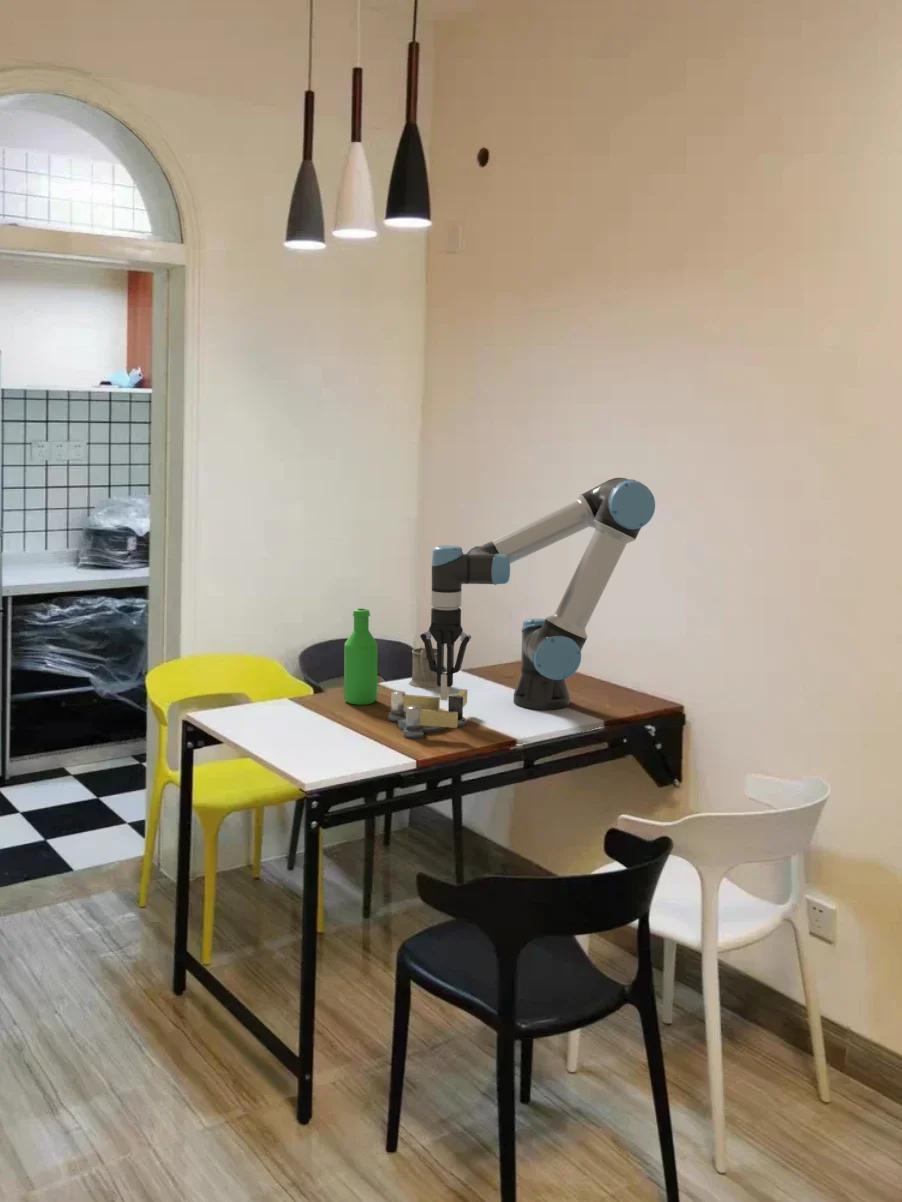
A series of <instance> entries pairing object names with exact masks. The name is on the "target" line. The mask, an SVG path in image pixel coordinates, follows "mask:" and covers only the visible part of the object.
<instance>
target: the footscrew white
mask: <svg viewBox="0 0 902 1202" xmlns="http://www.w3.org/2000/svg"><path fill="white" fill-rule="evenodd" d="M411 705H416V706H420V707H421V709H425V710H438V711H441V709H440V707H441V696H430V695H420V694H419V695H417V694H406V691H403V690H394V691H391V693H390V712H391V715H395V716H401V715H403V714H405V712H406V707H407V706H411Z"/></svg>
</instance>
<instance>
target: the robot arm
mask: <svg viewBox="0 0 902 1202" xmlns="http://www.w3.org/2000/svg"><path fill="white" fill-rule="evenodd" d="M655 509H656V499H655V496H654V494H653V493H652V491H651V490H650V488H649V487H648V486H647V485H645V484H644V483H642V482H641V481H638V480H635V479H630V478H629V479H628V478H627V477H626V478H625V477H614V478H611V479H608V480H605V481H604V482H601V483H600V484H599V485H597V486H595V487H593V488H591V489H589V490H587V491H586V492H584V493H581V494H579V496H578V498H577V500H575V501H573V502H571V503H568V504H567V505H565V506H563V507H561V508H559V509H556V510H554V511H552V512H550V513H548V514H545V515H544V516H541V517H539V518H537V519H536V520H532V521H530V522H529V523H527V524H525V525H523V526H520V527H518V528H516V529H514V530H512V531H509V532H508V533H505V534H504V535H501V536H499V537H497V538H495V539H493V540H491V541H489V542H487V543H485V544H482V545H480V546H479V545H476V546H473V547H470V548H469V549H468V550H467V551H466V553H464V552H463V548H462V546H460V545H450V544H449V545H437V546H435V547H434V548H433V550H432V559H431V600H430V601H431V604H430V605H431V606H432V607H431V609H430V610H431V611H430V615H431V616H430V626H429V627H428V630H427V631H424V632H422V633H421V634H420V639H421V640H422V642H423V643H424V647H425V649H426V654H427V658H428V663H429V667H430V670H431V671H434V672H436V673H437V685H438V686H441V687H440V701H447V700H449V696H450V694H449V693H450V687H452V686H453V684H454V674H455V673H459V672H460V670H462V669H461V668H462V665H463V661H464V656H465V653H466V649H467V645H468V643H469V642H470V640H471V639H472V636H471V635H470V634H467V633H465V632H464V629H463V627H462V609H461V608H460V607H461V606H462V587H463V586H462V585H494V586H496V585H504V584H508V582H509V580H510V576H511V564H513V563H514V562H516V561H519V560H521V559H523V558H526V557H528V556H530V555H532V554H534V553H536V552H538V551H540V550H543V549H544V548H547V547H549V546H552V545H554V544H556V543H557V542H559V541H562V540H564V539H566V538H568V537H571V536H572V535H574V534H577V533H579V532H582V531H583V530H586V529H587V528H589V527H590V528H593V529H594V532H593V534H592V537H591V538H590V540H589V543H588V545H587V547H586V548H585V550H584V553H583V554H582V557H581V559H580V561H579V563H578V565H577V567H576V568H575V571H574V574H573V575H572V577H571V579H570V581H569V584H568V586H567V587H566V590H565V592H564V593H563V596H562V598H561V600H560V602H559V604H558V607H557V608H556V611H555V612H554V614H552V615H550V616H549V615H548V616H546V618H526V619H524V621H522V627H521V659H520V660H521V661H520V665H521V666H520V675H519V679H518V681H517V684H516V686H515V688H514V692H513V703H514V704H515V705H516V706H518V707H519V706H520V707H522V708H526V709H533V710H559V709H564V708H566V707H567V708H568V707H569V705H570V703H571V695H570V691H569V689H568V685H567V681H566V679H567V678H570V677H571V676H572V675H574V674H575V673H576V672H577V670H578V669H579V668H580V666H581V662H582V652H581V651H582V649H583V648H584V646H585V643H586V641H587V639H588V635H587V632H586V627H587V625H588V624H589V621H590V619H591V617H592V616H593V614H594V611H595V609H596V607H597V605H598V602H600V600H601V597H602V595H603V593H604V591H605V590H606V587H607V585H608V583H609V581H610V578H611V577H612V574H613V573H614V570H615V568H616V566H617V565H618V562H619V560H620V558H621V556H622V554H623V552H624V550H625V548H626V546H627V544H630V543H632V542H634V541H636V540H637V538H638V536H639V533H640V531H641V529H642V528H644V526H646V525H647V524H648V523H649V522H650V521H651V520H652V518H653V516H654V514H655ZM459 637H460V640H459V641H460V642H461V643H460V645H459V647H458V648H459V649H458V653H457V656H456V660H455V662H454V658H455V657H454V656H455V655H454V654H455V652H454V651H455V643H456V641H458V639H459ZM431 638H433V640H434V641H435V642H436V649H437V665H436V661H435V656H434V652H433V644H432V640H431ZM445 645H446V672H444V671H445V669H444V668H445V666H444V665H445V663H444V662H445V661H444V659H445ZM454 663H455V664H454Z"/></svg>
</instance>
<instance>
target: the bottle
mask: <svg viewBox="0 0 902 1202" xmlns="http://www.w3.org/2000/svg"><path fill="white" fill-rule="evenodd" d="M370 616H371V613H370V610H369V609H367V608H355V609H353V612H352V617H353V631H352V632H351V633H350V635H349V636H348V638H347V640H346V641H345V642H344V645H343V646H344V650H343V651H344V655H343V657H344V659H343V660H344V661H343V662H344V663H343V664H344V666H343V667H344V668H343V669H344V670H343V671H344V672H343V673H344V674H343V675H344V677H343V678H344V679H343V681H344V683H343V684H344V685H343V686H344V687H343V690H344V691H343V693H344V694H343V695H344V696H343V699H344V700H345V702H347V703H348V704H351V705H359V706H363V705H365V706H366V705H371V704H373V703H374V702H376V701H377V699H378V643H377V641H376V639H375V638H374V636H373V634H372V633H371V631H370V630H369V623H370V622H369V620H370V619H369V617H370Z"/></svg>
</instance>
